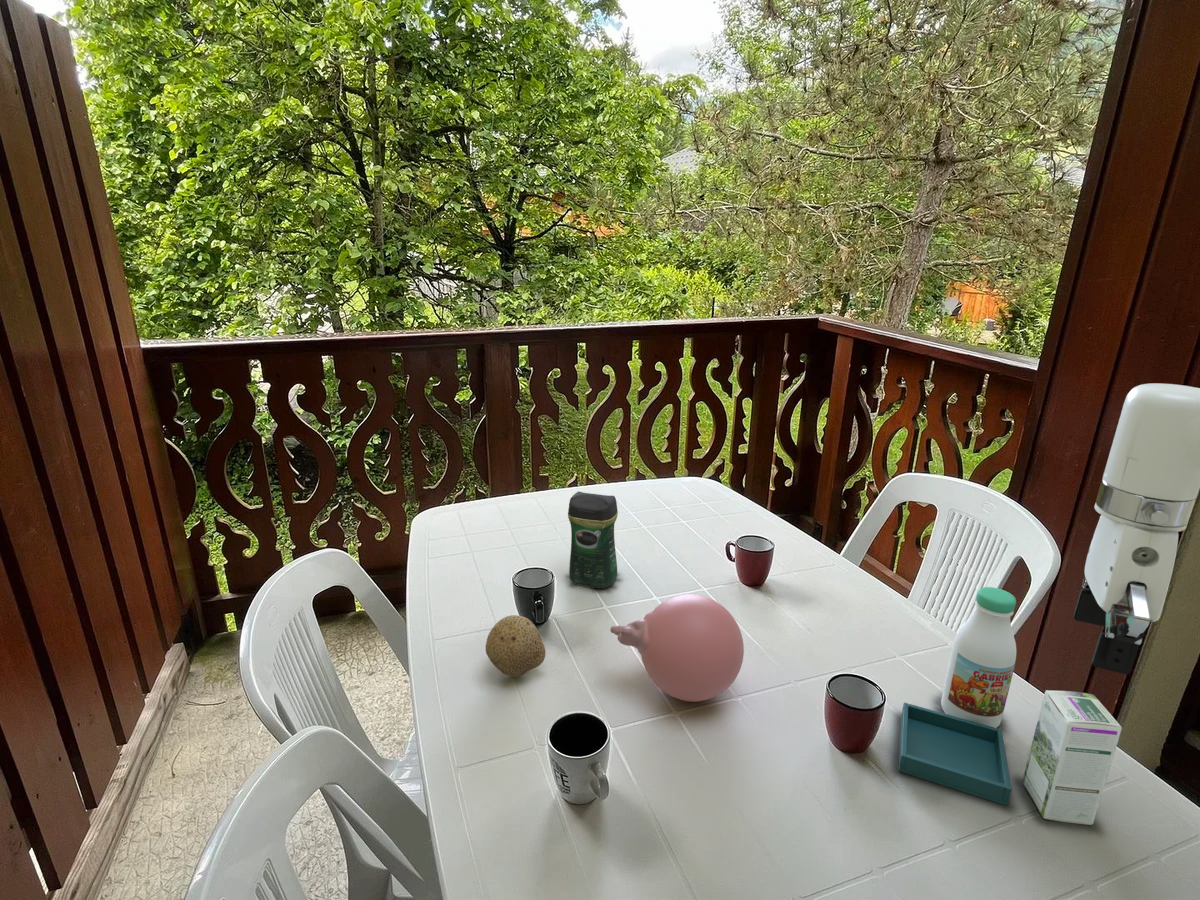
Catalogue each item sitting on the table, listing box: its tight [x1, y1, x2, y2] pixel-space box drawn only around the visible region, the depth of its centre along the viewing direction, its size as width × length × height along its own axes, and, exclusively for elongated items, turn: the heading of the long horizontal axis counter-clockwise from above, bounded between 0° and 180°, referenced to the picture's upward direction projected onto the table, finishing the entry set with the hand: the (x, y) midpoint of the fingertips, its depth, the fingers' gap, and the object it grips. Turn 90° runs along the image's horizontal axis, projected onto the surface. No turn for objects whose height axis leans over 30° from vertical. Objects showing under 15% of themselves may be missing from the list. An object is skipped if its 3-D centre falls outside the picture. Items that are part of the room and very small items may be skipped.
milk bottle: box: [940, 586, 1017, 728], centre depth 90 cm, size 8×8×20 cm
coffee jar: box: [567, 491, 619, 589], centre depth 127 cm, size 10×8×19 cm
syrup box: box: [1021, 689, 1123, 826], centre depth 76 cm, size 6×6×14 cm
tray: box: [898, 702, 1012, 807], centre depth 85 cm, size 12×11×3 cm
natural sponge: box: [485, 614, 546, 678], centre depth 100 cm, size 9×9×10 cm
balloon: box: [610, 593, 745, 703], centre depth 96 cm, size 15×20×15 cm
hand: (1098, 644), depth 71 cm, fingers open, 9 cm apart
